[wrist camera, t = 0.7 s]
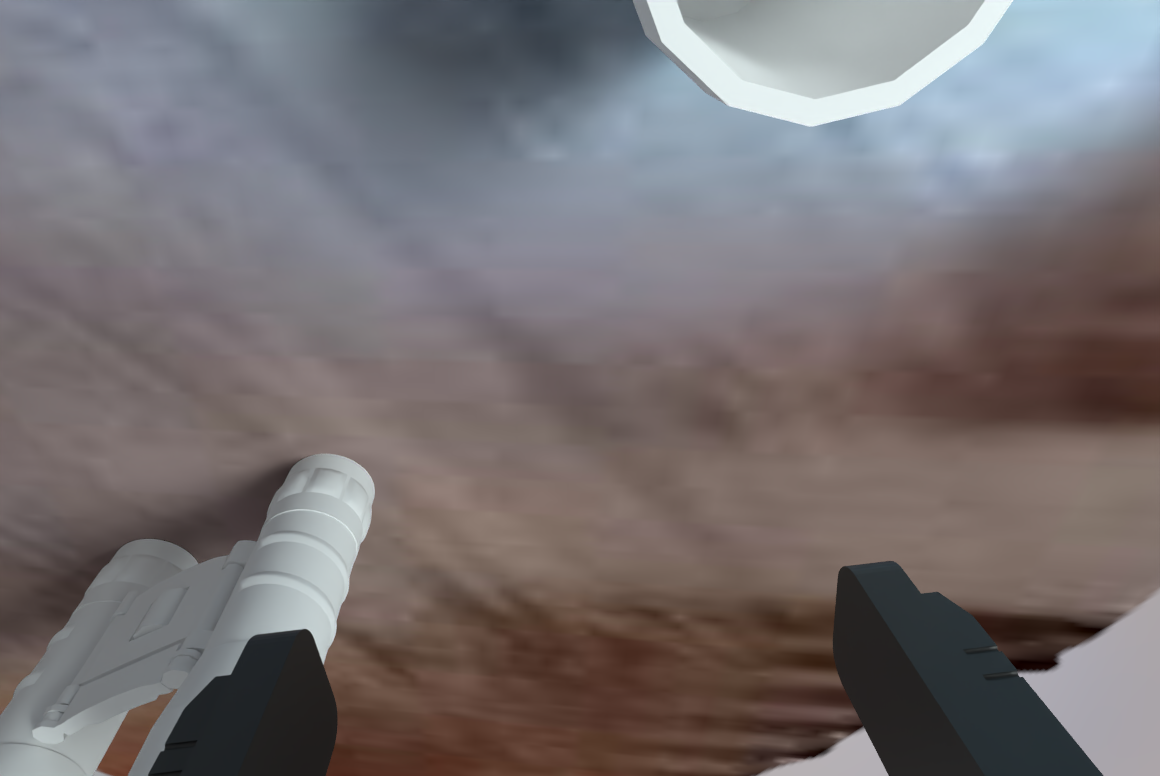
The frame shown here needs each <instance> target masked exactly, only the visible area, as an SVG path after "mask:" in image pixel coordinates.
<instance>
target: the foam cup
mask: <svg viewBox="0 0 1160 776" xmlns="http://www.w3.org/2000/svg"><path fill="white" fill-rule="evenodd" d="M1012 1H1013V0H633V3H634V6H635V8H636V11H637V14H638V16H639V19H640V22H641V25H642V27H643V30H644V33H645V35H646V37H648V38H649V39H650V40H651V41H652V42H653V43H654V44H655V45H656V46H657V47H658V48H659V49H660V50H661V51H662V52H663V53H664V54H665V55H666V56H667V57H669V58H670V59H671V60H672V61H673V62H674V63H675V64H676V65H677V66H678V67H679V68H680V69H681V70H682V71H683V72H684V73H685V74H686V75H687V76H688V77H689V78H691V79H692V80H693V81H694V82H695V83H696V84H697V85H698V86H699V87H700V88H701V89H702V90H703V91H704V92H705V93H707V94H709V95H710V96H712V97H714V98H716V99H717V100H719V101H721V102H722V103H724V104H726V105H728V106H731V107H735V108H739V109H743V110H747V111H751V112H755V113H759V114H762V115H766V116H770V117H774V118H778V119H782V120H786V121H790V122H794V123H798V124H802V125H806V126H810V127H812V126H816V125H820V124H825V123H829V122H833V121H837V120H841V119H845V118H850V117H854V116H858V115H862V114H866V113H870V112H874V111H879V110H883V109H887V108H891V107H895V106H899V105H901V104H902V103H903V102H905V101H906V100H908V99H909V98H910V97H912V96H913V95H914V94H916V93H917V92H918V91H920V90H921V89H922V88H924V87H925V86H927V85H928V84H929V83H931V82H932V81H933V80H935V79H936V78H937V77H939V76H940V75H941V74H943V73H944V72H946V71H947V70H948V69H950V68H951V67H952V66H954V65H955V64H956V63H958V62H959V61H960V60H962V59H963V58H965V57H966V56H967V55H969V54H970V53H971V52H973V51H974V50H975V49H977V48H978V47H980V46H981V45H982V44H984V42H985V41H986V39H987V38H988V36H989V35H990V33H991V32H992V30H993V29H994V28H995V26H996V25H997V23H998V22H999V20H1000V19H1001V17H1002V16H1003V15H1004V13H1005V12H1006V10H1007V9H1008V7H1009V6H1010V4H1011V3H1012Z"/></svg>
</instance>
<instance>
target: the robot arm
mask: <svg viewBox="0 0 1160 776" xmlns="http://www.w3.org/2000/svg"><path fill="white" fill-rule="evenodd" d="M833 653H834V659H835V664H836V668H837V671H838V674H839V677H840V680H841V682H842V685H843V687H844V689H845V691H846V693H847V695H848V697H849V698H850V700H851V702H852V704H853V706H854V708H855V710H856V712H857V714H858V716H859V718H860V720H861V722H862V724H863V726H864V728H865V730H866V732H867V733H868V736H869V737H870V740H871V741H872V743H873V745H874V747H875V749H876V751H877V753H878V755H879V757H880V759H881V761H882V763H883V765H884V767H885V769H886V771H887V773H888V775H889V776H1103V775H1102V773H1101V772H1100V771H1099V770H1098V768H1097V767H1096V766H1095V765H1094V764H1093V763H1092V761H1091V760H1090V759H1089V758H1088V756H1087V755H1086V754H1085V753H1084V751H1083V750H1082V749H1081V748H1080V747H1079V745H1078V744H1077V743H1076V742H1075V741H1074V739H1073V738H1072V737H1071V736H1070V734H1069V733H1068V732H1067V731H1066V730H1065V728H1064V727H1063V726H1062V725H1061V723H1060V722H1059V721H1058V720H1057V718H1056V717H1055V716H1054V715H1053V713H1052V712H1051V711H1050V710H1049V709H1048V707H1047V706H1046V705H1045V704H1044V702H1043V701H1042V700H1041V699H1040V698H1039V696H1038V695H1037V694H1036V693H1035V692H1034V690H1033V689H1032V688H1031V687H1030V686H1029V684H1028V683H1027V682H1026V681H1025V679H1024V678H1023V677H1019V676H1018V673H1017V670H1016V668H1015V667H1014V666H1013V665H1012V663H1011V662H1010V661H1009V660H1008V659H1007V657H1006V656H1005V655H1004V654H1003V652H1002V651H1001V652H999V651H998V650H997V645H996V644H995V643H994V641H993V640H992V639H991V638H990V637H989V635H988V634H987V633H986V632H985V630H984V629H983V628H982V627H981V626H980V624H979V623H978V622H977V621H976V619H975V618H974V617H973V616H972V615H971V614H969V613H968V612H966V611H965V610H963V609H962V608H961V607H959V606H958V605H956V604H955V603H953V602H952V601H950V600H949V599H947V598H946V597H944V596H943V595H942V594H940V593H939V592H933V593H924V594H921V593H920V592H919V590H918V589H917V588H916V586H915V585H914V584H913V582H912V581H911V580H910V578H909V577H908V576H907V574H906V573H905V572H904V571H903V569H902V568H901V567H900V566H899V565H898V564H897V563H896V562H894V561H886V562H877V563H869V564H861V565H852V566H844V567H842V568H841V569H840V571H839V574H838V583H837V595H836V607H835V619H834V632H833ZM336 734H337V707H336V702H335V698H334V695H333V692H332V689H331V686H330V683H329V681H328V678H327V675H326V672H325V669H324V666H323V663H322V660H321V657H320V654H319V651H318V649H317V646H316V643H315V640H314V637H313V635H312V634H311V632H310V631H309V630H307V629H299V630H291V631H282V632H274V633H266V634H257V635H254V636H253V637H251V638H250V639H249V641H248V642H247V644H246V645H245V647H244V649H243V651H242V653H241V655H240V657H239V659H238V661H237V663H236V665H235V667H234V669H233V671H232V673H231V675H225V676H216V677H214V678H213V679H212V681H211V682H210V683H209V684H208V685H207V686H206V687H205V688H204V689H203V690H202V691H201V692H200V693H199V694H198V695H197V696H196V697H195V698H194V699H193V700H192V701H191V702H190V703H189V704H188V705H187V706H186V707H185V708H184V710H183V712H182V713H181V715H180V717H179V719H178V721H177V723H176V724H175V726H174V728H173V730H172V732H171V733H170V735H169V737H168V739H167V741H166V743H165V749H164V751H161V752H160V753H159V755H158V757H157V759H156V761H155V762H154V764H153V766H152V768H151V770H150V772H149V773H148V776H326V772H327V769H328V766H329V762H330V759H331V755H332V752H333V749H334V745H335V740H336Z"/></svg>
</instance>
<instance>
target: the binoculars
mask: <svg viewBox="0 0 1160 776" xmlns="http://www.w3.org/2000/svg"><path fill="white" fill-rule="evenodd" d="M374 495H375V488H374V483H373V481H372V478H371V477H370V475H369V474H368V472H367V471H366V470H365V469H364V468H363V467H362V466H360V465H359V464H357V463H356V462H355V461H353V460H350V459H348V458H346V457H343V456H339V455H334V454H317V455H311V456H309V457H306V458H304V459H302V460H300V461H299V462H297V463H296V464H295V465H294V466H293V467H292V469H291V470H290V472H289V473H288V476H287V478H286V480H285V482H284V484H283V485H282V486H281V487H280V488H279V489H278V490H277V491H276V493H275V495H274V497H273V499H272V501H271V503H270V505H269V508H268V511H267V519H266V521H265V523H264V525H263V527H262V529H261V532H260V535H259V538H258V540H257V542H256V541H250V540H242V541H238V542H237V543H236V544H235V545H234V547H233V549H232V551H231V552H230V554H229V555H226V556H221V557H216V558H213V559H210V560H207V561H205V562H202V563H200V564H198V562H197V561H196V559H195V558H194V557H193V556H192V555H191V554H190V553H189V552H187V551H186V550H185V549H183V548H181V547H179V546H178V545H175V544H173V543H170V542H167V541H163V540H158V539H140V540H134V541H132V542H129V543H127V544H125V545H124V546H122V547H121V548H120V549H119V550H118V551H117V553H116V554H115V555H114V557H113V558H112V560H111V561H110V562H109V563H108V564H107V565H105V566H104V567H103V568H102V570H101V571H100V572H99V574H98V575H97V576H96V578H95V579H94V581H93V582H92V584H91V585H90V586H89V588H88V589H87V590H86V592H85V595H84V598H83V600H82V601H81V602H80V604H79V605H78V607H77V608H76V609H75V611H74V612H73V613H72V615H71V617H70V620H69V621H68V622H67V624H66V625H65V627H64V628H63V629H62V630H60V631H59V632H57V633H56V635H55V636H54V637H53V638H52V639H51V641H50V642H49V644H48V646H47V651H46V653H45V654H44V656H43V657H42V658H41V660H40V661H39V663H38V664H37V665H36V667H35V668H34V670H33V671H32V672H31V674H30V675H28V676H26V677H25V678H24V679H23V680H22V681H21V682H20V683H19V684H18V686H17V688H16V690H15V692H14V695H13V699H12V700H11V701H10V703H9V704H8V706H7V707H6V708H5V710H4V711H3V713H2V714H1V715H0V776H93V774H94V773H95V771H96V769H97V767H98V765H99V763H100V762H101V760H102V758H103V756H104V754H105V753H106V751H107V749H108V747H109V745H110V743H111V742H112V740H113V738H114V736H115V734H116V732H117V731H118V729H119V727H120V725H121V723H122V722H123V720H124V718H125V716H126V714H127V712H128V711H129V710H130V709H133V708H135V707H138V706H140V705H143V704H145V703H148V702H151V701H154V700H156V699H157V697H158V695H160V694H167V693H170V692H172V691H173V689H174V688H175V689H178V690H177V692H176V693H175V695H174V696H173V698H172V699H171V701H170V702H169V704H168V705H167V707H166V708H165V709H164V711H163V712H162V714H161V715H160V717H159V718H158V720H157V721H156V723H155V724H154V726H153V727H152V729H151V731H150V733H149V735H148V737H147V739H146V741H145V743H144V745H143V747H142V749H141V751H140V753H139V755H138V757H137V759H136V760H135V762H134V764H133V766H132V768H131V770H130V772H129V774H128V776H148V773H149V772H150V770H151V768H152V766H153V764H154V762H155V761H156V759H157V757H158V755H159V753H160V752H161V751H164V749H165V743H166V741H167V739H168V737H169V735H170V733H171V732H172V730H173V728H174V726H175V724H176V723H177V721H178V719H179V717H180V715H181V713H182V712H183V710H184V708H185V707H186V706H187V705H188V704H189V703H190V702H191V701H192V700H193V699H194V698H195V697H196V696H197V695H198V694H199V693H200V692H201V691H202V690H203V689H204V688H205V687H206V686H207V685H208V684H209V683H210V682H211V681H212V679H213V678H214V677H216V676H225V675H231V673H232V671H233V669H234V667H235V665H236V663H237V661H238V659H239V657H240V655H241V653H242V651H243V649H244V647H245V645H246V644H247V642H248V641H249V639H250V638H251V637H253V636H254V635H257V634H266V633H274V632H282V631H291V630H299V629H307V630H309V631H310V632H311V634H312V635H313V637H314V640H315V643H316V646H317V649H318V651H319V654H320V657H321V660H322V663H323V664H324V661H325V657H326V654H327V651H328V648H329V647H330V645H331V644H332V642H333V640H334V637H335V634H336V627H337V623H336V621H337V617H338V614H339V610H340V607H341V604H342V603H343V601H344V600H345V598H346V595H347V593H348V590H349V577H350V574H351V570H352V567H353V563H354V562H355V559H356V557H357V554H358V550H359V547H360V544H361V542H362V541H363V540H364V539H365V536H366V534H367V531H368V529H369V526H370V522H371V514H372V509H371V506H372V503H373V500H374Z"/></svg>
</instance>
